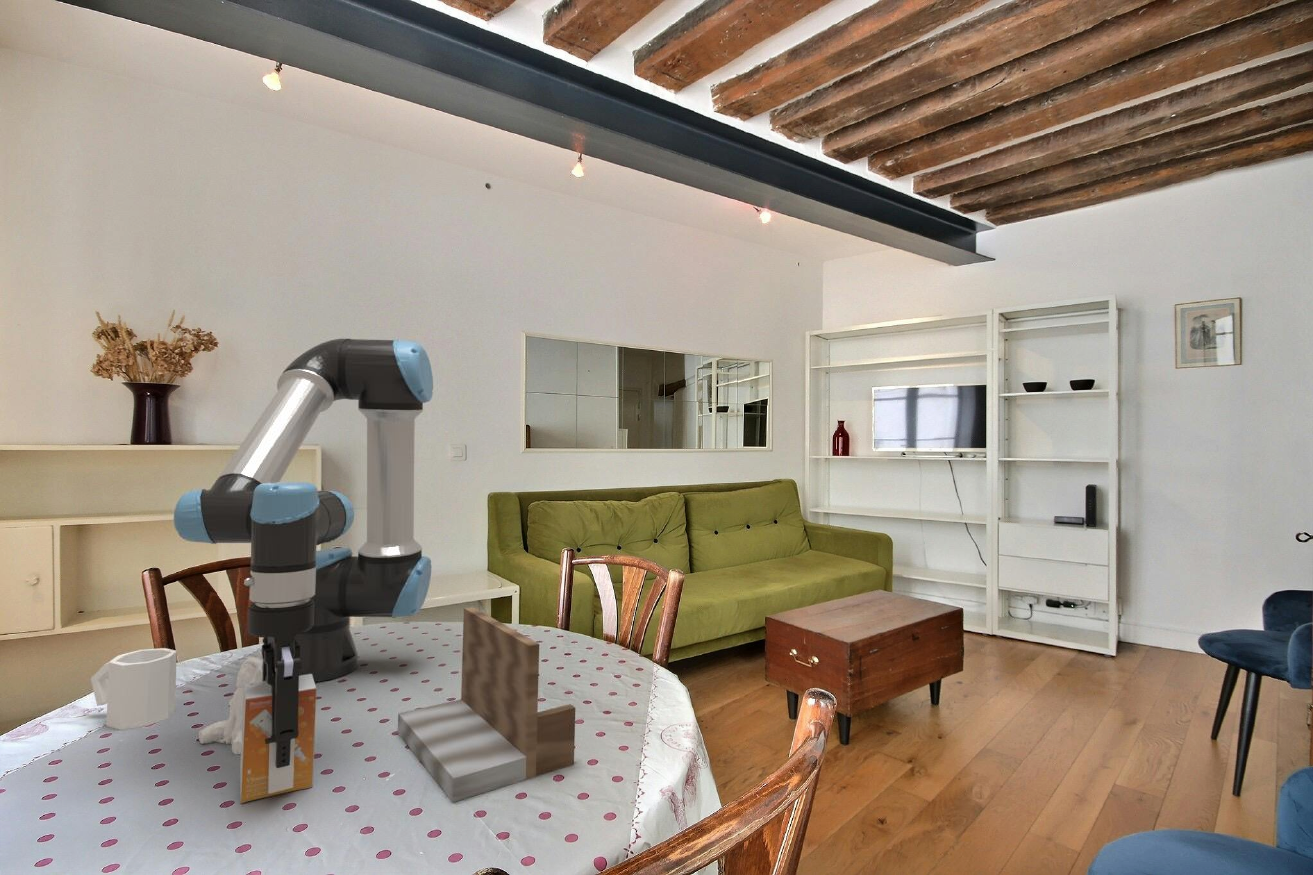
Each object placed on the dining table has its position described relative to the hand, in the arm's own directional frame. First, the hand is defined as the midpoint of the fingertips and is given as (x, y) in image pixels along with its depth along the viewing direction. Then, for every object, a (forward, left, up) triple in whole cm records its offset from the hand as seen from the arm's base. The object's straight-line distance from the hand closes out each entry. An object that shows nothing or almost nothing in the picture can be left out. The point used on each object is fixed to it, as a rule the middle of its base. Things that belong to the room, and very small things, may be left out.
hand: (276, 777), depth 85 cm
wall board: (+5, +26, -1) cm, 26 cm away
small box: (0, 0, -1) cm, 1 cm away
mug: (-36, -16, -1) cm, 39 cm away
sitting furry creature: (-18, -2, -1) cm, 18 cm away
